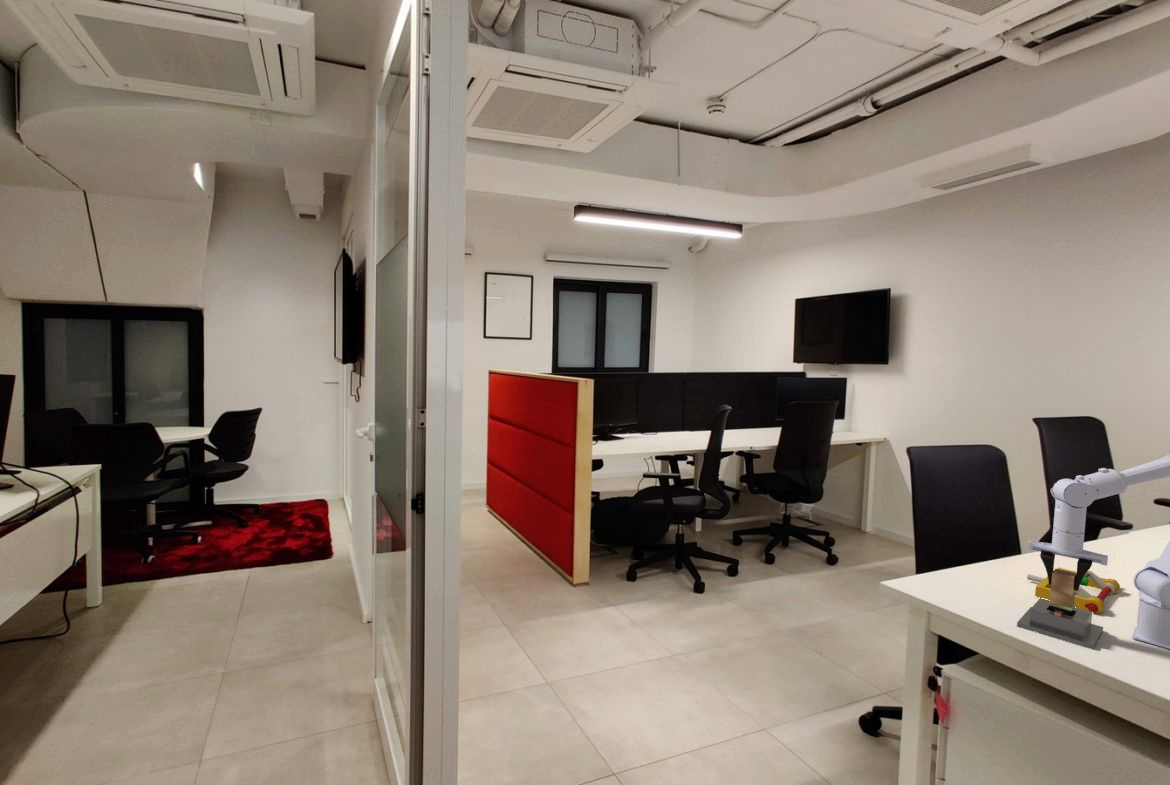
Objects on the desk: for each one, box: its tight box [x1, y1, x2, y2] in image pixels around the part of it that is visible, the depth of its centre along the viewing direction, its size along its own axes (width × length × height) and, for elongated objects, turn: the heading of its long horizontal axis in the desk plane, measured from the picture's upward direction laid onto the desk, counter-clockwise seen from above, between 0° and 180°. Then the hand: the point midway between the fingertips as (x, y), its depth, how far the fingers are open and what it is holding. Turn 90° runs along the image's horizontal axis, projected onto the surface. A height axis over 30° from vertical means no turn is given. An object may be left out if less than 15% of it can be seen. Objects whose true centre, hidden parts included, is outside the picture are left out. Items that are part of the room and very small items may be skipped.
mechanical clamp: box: [1026, 567, 1121, 615], centre depth 164 cm, size 18×6×30 cm
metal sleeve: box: [1016, 598, 1104, 650], centre depth 140 cm, size 14×14×5 cm
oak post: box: [1049, 568, 1077, 611], centre depth 139 cm, size 4×4×8 cm
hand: (1063, 586), depth 139 cm, fingers closed on oak post, 4 cm apart
